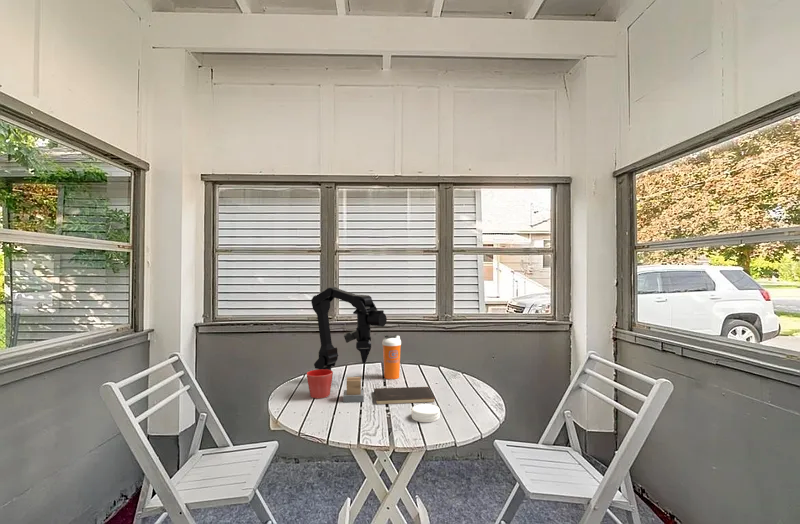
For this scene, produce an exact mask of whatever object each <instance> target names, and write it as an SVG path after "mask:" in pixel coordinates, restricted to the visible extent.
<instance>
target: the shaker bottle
mask: <svg viewBox="0 0 800 524" xmlns="http://www.w3.org/2000/svg"><path fill="white" fill-rule="evenodd" d="M383 337H384V338H383V339H382V344H381V345H382V352H383V353H382V355H383V358H382V359H383V374H384V375H383V376H384V379H386V380H396V379H399V378H400V374H401V373H400V367H401V346H402V340H401V336H400V335H399V334H397V333H395V334H394V335H393V334H384V335H383Z"/></svg>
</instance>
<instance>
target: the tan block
mask: <svg viewBox="0 0 800 524" xmlns="http://www.w3.org/2000/svg"><path fill="white" fill-rule="evenodd" d="M346 390H347V395H361V390H362V377H361V376H347V377H346Z"/></svg>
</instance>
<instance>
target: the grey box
mask: <svg viewBox="0 0 800 524" xmlns="http://www.w3.org/2000/svg"><path fill="white" fill-rule="evenodd" d="M364 398H365V389H361V395H347V389H344V390H343V395H342V402H343V403H364V402H365V399H364Z"/></svg>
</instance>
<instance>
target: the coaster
mask: <svg viewBox="0 0 800 524" xmlns="http://www.w3.org/2000/svg"><path fill="white" fill-rule="evenodd" d="M440 410H441V409H440V407H439V406H437V405H434V404H429V403H419V404H416V405H414V406H412V408H411V418H412V419H411V420H413V421H415V422H418V423H434V422H437V421H439V420H440V417H441V416H440V414H441V413H440Z"/></svg>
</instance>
